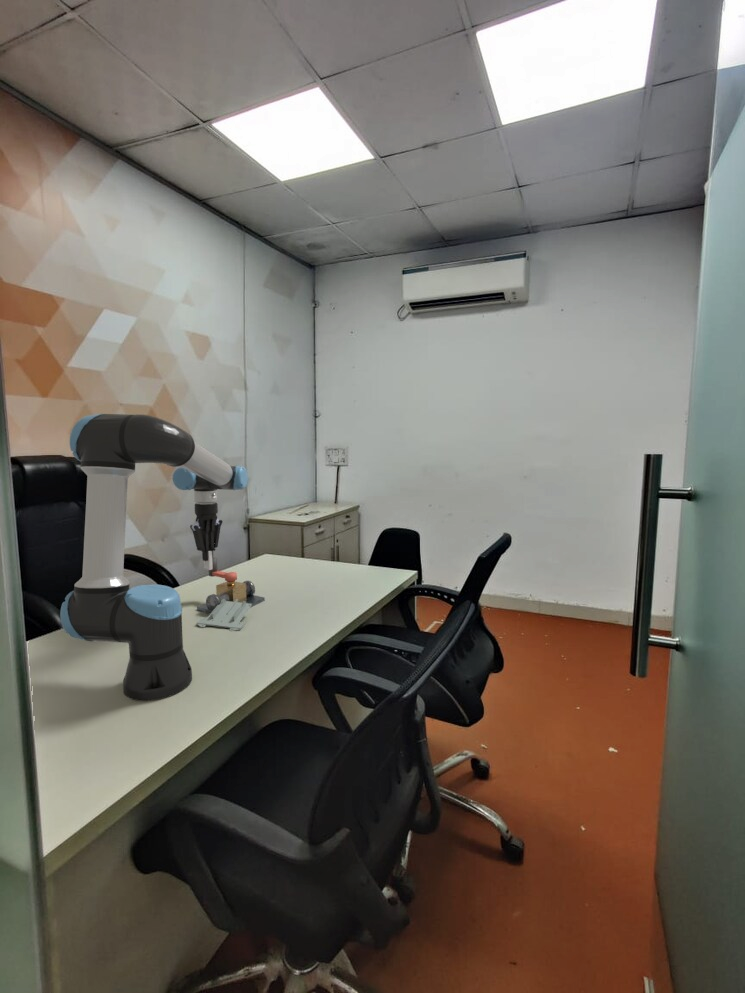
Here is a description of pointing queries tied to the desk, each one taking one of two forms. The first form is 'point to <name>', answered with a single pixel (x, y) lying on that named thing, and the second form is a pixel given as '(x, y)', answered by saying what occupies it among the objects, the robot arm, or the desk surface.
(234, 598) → the valve
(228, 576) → the lever
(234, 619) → the metal bracket
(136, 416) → the robot arm
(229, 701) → the desk surface
